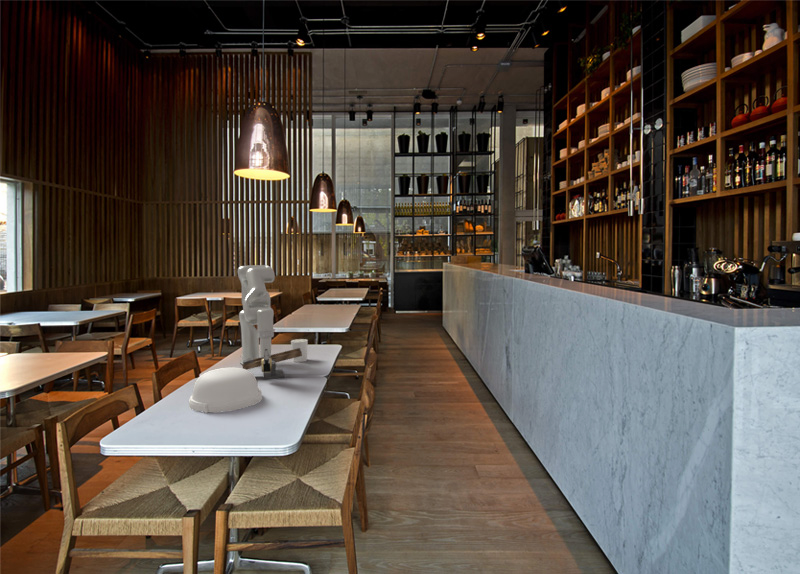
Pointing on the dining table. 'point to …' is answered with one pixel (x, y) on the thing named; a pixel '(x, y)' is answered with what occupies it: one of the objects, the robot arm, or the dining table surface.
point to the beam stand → (273, 372)
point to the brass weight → (263, 363)
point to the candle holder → (303, 347)
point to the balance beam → (278, 357)
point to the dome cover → (225, 390)
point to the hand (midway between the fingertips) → (266, 369)
